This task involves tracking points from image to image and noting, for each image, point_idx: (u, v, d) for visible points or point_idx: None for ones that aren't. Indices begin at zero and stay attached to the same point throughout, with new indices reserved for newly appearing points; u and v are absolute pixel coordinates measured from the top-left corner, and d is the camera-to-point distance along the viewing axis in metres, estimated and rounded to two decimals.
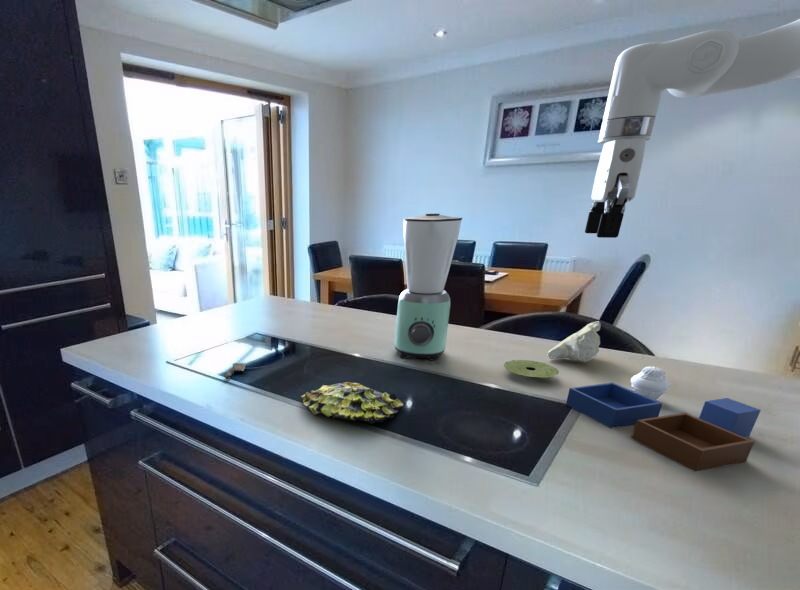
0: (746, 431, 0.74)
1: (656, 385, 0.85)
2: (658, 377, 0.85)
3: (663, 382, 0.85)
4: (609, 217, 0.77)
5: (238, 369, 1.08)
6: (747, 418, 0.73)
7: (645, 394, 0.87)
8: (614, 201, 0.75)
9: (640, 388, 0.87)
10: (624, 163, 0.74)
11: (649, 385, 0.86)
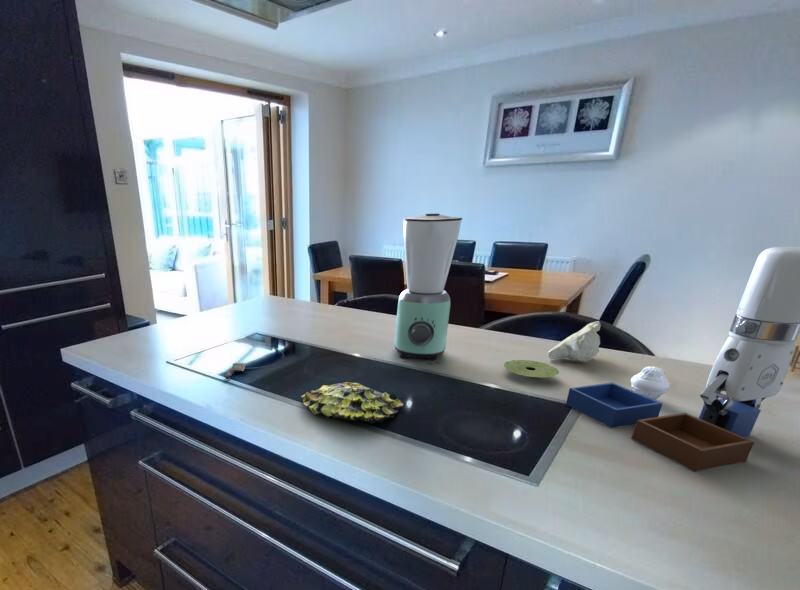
0: (746, 431, 0.74)
1: (656, 385, 0.85)
2: (658, 377, 0.85)
3: (663, 382, 0.85)
4: (708, 413, 0.75)
5: (238, 369, 1.08)
6: (747, 418, 0.73)
7: (645, 394, 0.87)
8: (705, 400, 0.74)
9: (640, 388, 0.87)
10: (727, 362, 0.70)
11: (649, 385, 0.86)
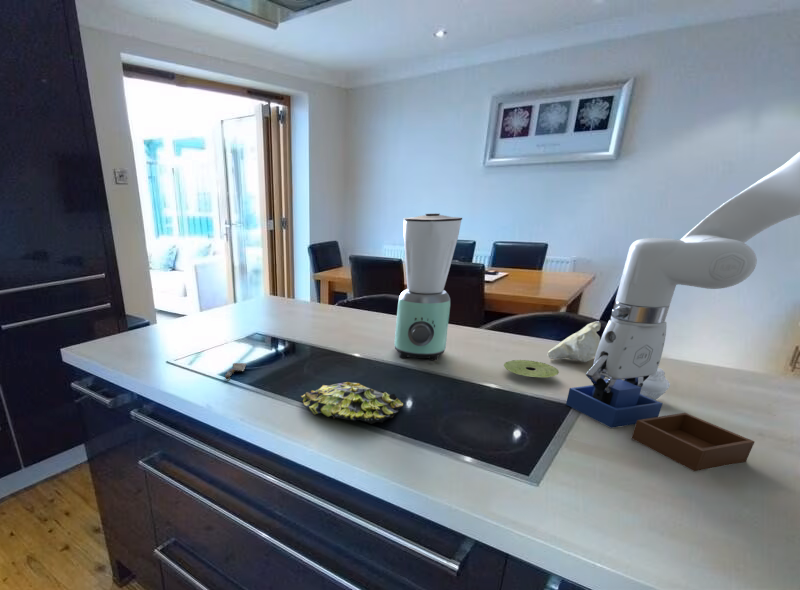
0: None
1: (656, 385, 0.85)
2: (658, 377, 0.85)
3: (663, 382, 0.85)
4: (596, 391, 0.82)
5: (238, 369, 1.08)
6: (629, 395, 0.80)
7: (645, 394, 0.87)
8: (592, 379, 0.81)
9: None
10: (607, 343, 0.78)
11: (649, 385, 0.86)
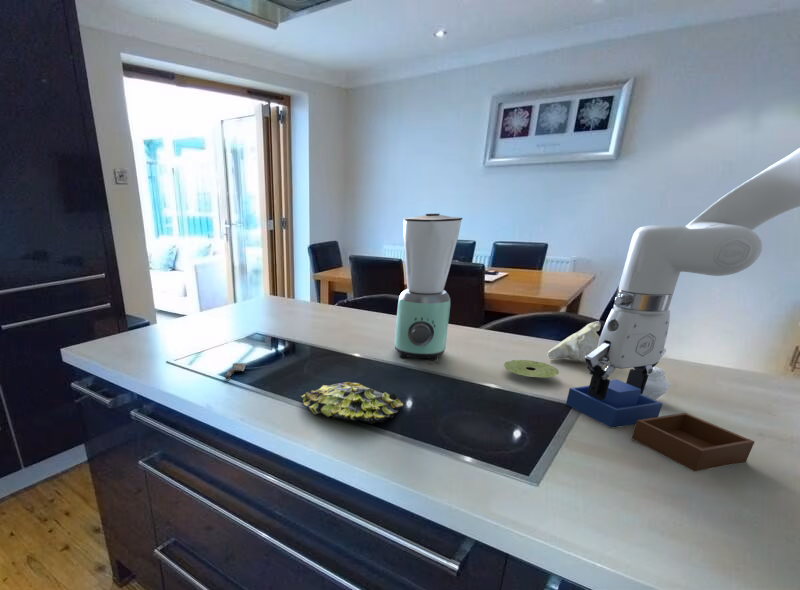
0: None
1: (656, 385, 0.85)
2: (658, 377, 0.85)
3: (663, 382, 0.85)
4: (593, 379, 0.81)
5: (238, 369, 1.08)
6: (629, 396, 0.80)
7: (645, 394, 0.87)
8: (588, 366, 0.79)
9: None
10: (609, 332, 0.77)
11: (649, 385, 0.86)
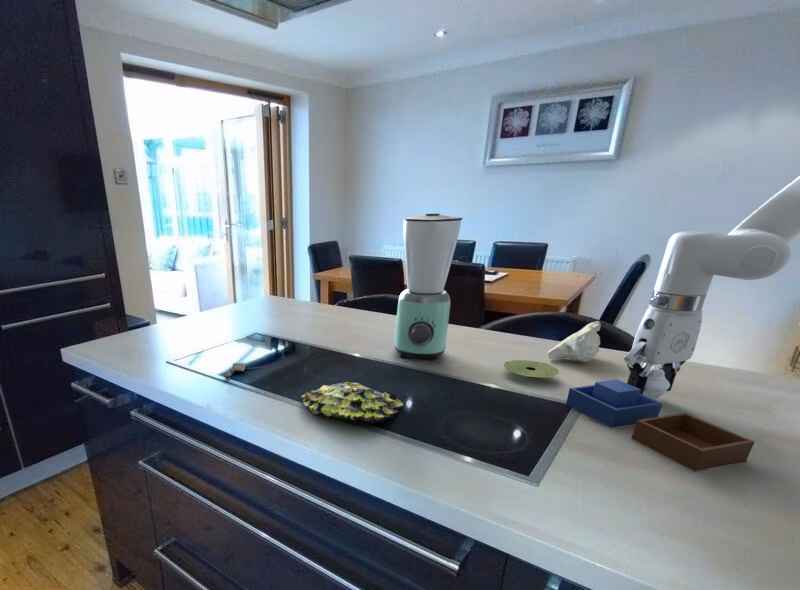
0: None
1: (656, 385, 0.85)
2: (658, 377, 0.85)
3: (663, 382, 0.85)
4: (631, 376, 0.87)
5: (238, 369, 1.08)
6: (629, 396, 0.80)
7: (645, 394, 0.87)
8: (628, 364, 0.86)
9: None
10: (645, 330, 0.83)
11: (649, 385, 0.86)
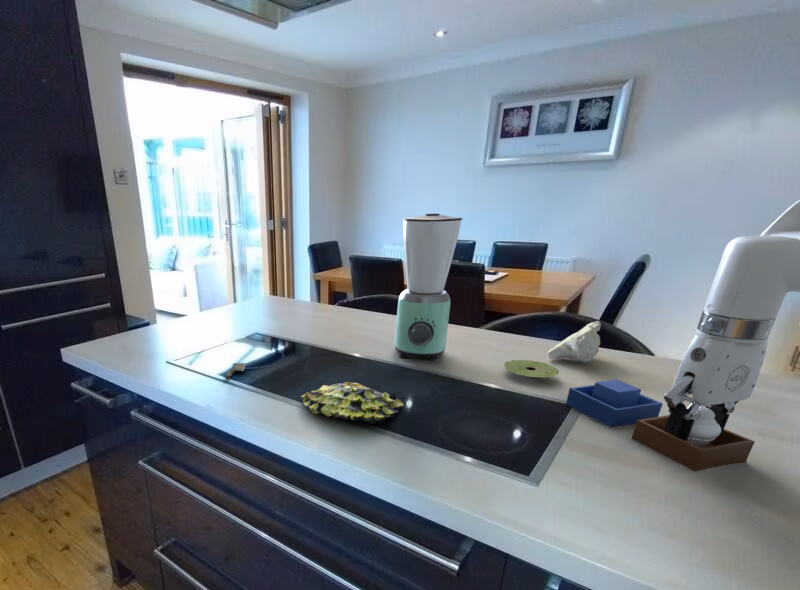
0: None
1: (704, 431, 0.67)
2: (707, 420, 0.67)
3: (713, 427, 0.67)
4: (672, 418, 0.69)
5: (238, 369, 1.08)
6: (629, 396, 0.80)
7: (689, 441, 0.69)
8: (668, 403, 0.67)
9: None
10: (693, 362, 0.64)
11: (695, 430, 0.68)
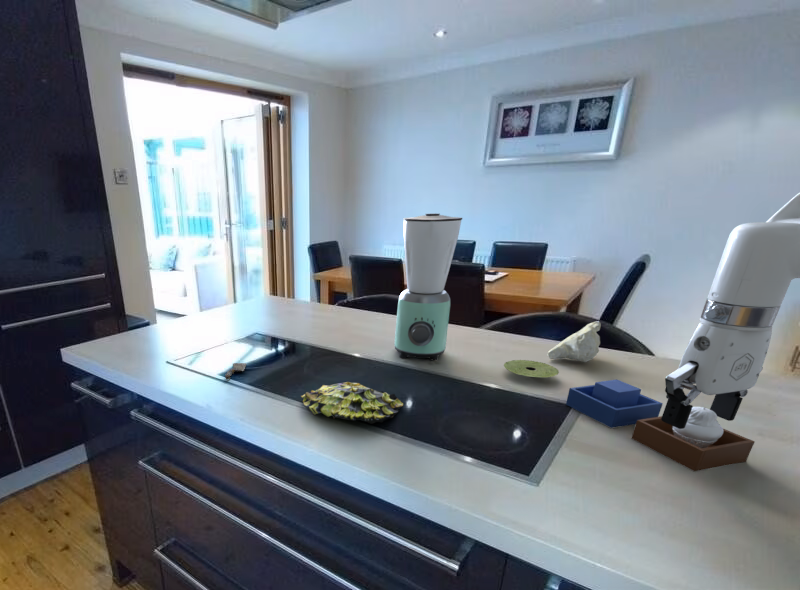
0: None
1: (707, 432, 0.67)
2: (709, 422, 0.67)
3: (716, 428, 0.67)
4: (670, 404, 0.67)
5: (238, 369, 1.08)
6: (629, 396, 0.80)
7: (692, 442, 0.69)
8: (666, 389, 0.66)
9: (686, 435, 0.69)
10: (697, 351, 0.64)
11: (698, 432, 0.68)
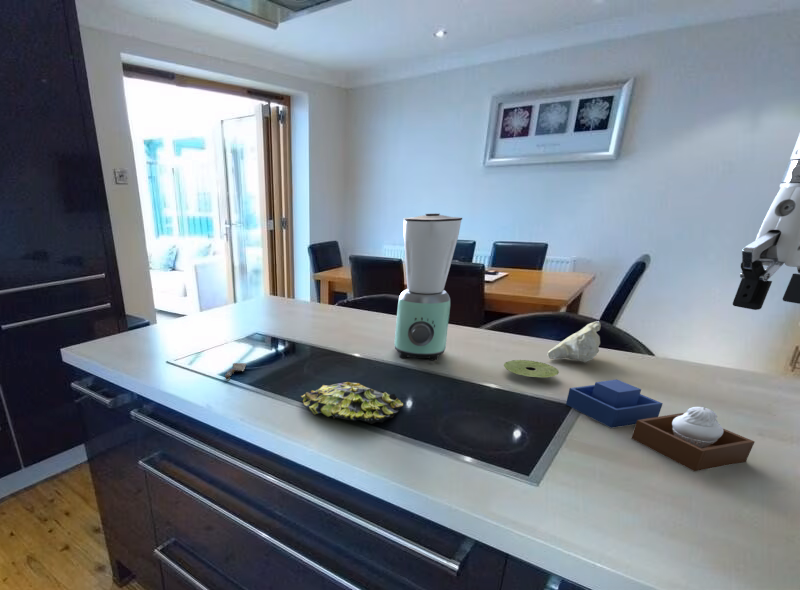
0: None
1: (707, 432, 0.67)
2: (709, 422, 0.67)
3: (716, 428, 0.67)
4: (745, 283, 0.62)
5: (238, 369, 1.08)
6: (629, 396, 0.80)
7: (692, 442, 0.69)
8: (742, 264, 0.60)
9: (686, 435, 0.69)
10: (779, 218, 0.58)
11: (698, 432, 0.68)
